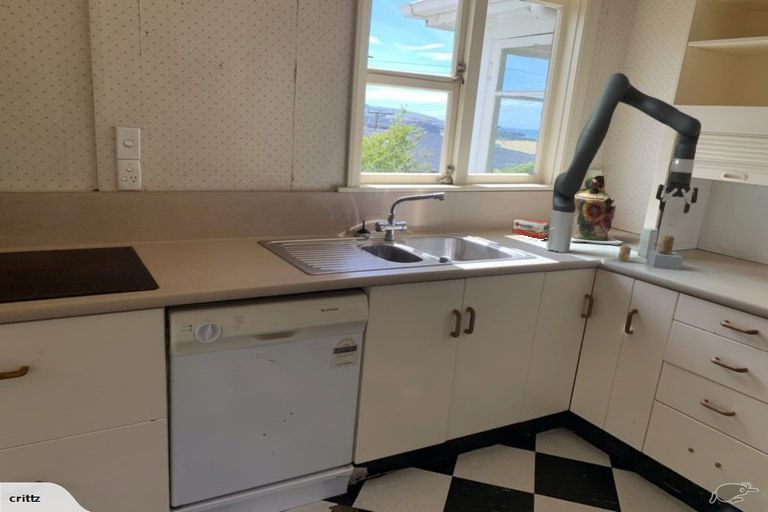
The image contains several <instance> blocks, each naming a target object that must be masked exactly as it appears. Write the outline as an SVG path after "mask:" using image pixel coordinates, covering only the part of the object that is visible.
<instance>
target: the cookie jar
mask: <svg viewBox="0 0 768 512" xmlns="http://www.w3.org/2000/svg"><path fill="white" fill-rule="evenodd" d="M605 176H606V173H605V172H604V173H603V174H599V175H593V176H590V177H587V178H586V180H584V187H585V190H584V191H583V192H581V193H579V194H578V193H576V194H575V205H576V209H575V216H574V223H573V230H572V236H571V243H573V242H578V243H584V242H586V243H590V244H603V245H614V246H620V245H621V244H622V243H623V241H622V240H618V239H616V238H614V237H613V236H612V235H610V234H609V232H610V231H611V229H612V221H613V220H614V218H615V212H616V208H617V207H616V205H613V203H614V202H615V198H613V197H610V195H609V193H608V192H607V191H606V189H605V186H606V185H605V183H606V182H605ZM572 238H573V239H572Z"/></svg>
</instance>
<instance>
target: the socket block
mask: <svg viewBox="0 0 768 512" xmlns="http://www.w3.org/2000/svg"><path fill="white" fill-rule="evenodd" d="M659 252H660V249H658V250H657V249H655V250H650V249H649V251H648V256H647V258H646V262H647V263H648V264H650V265H651V267H653V268H660V269H667V270H668V269H670V270H679V271H681V270H682V269H681V268H682V265H683V264H682V263H683V259H684V258H683V256H682V255H680V254H679V253H677V252H676V251H672V252H671V255H665V254H660V253H659Z"/></svg>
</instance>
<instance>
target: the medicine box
mask: <svg viewBox="0 0 768 512" xmlns="http://www.w3.org/2000/svg"><path fill="white" fill-rule="evenodd" d="M550 224H551V222H548V221H547V222H546V221H541V220H540V221H539V220H532V219H527V218H518V219H514V220H513V224H512V225H513V226H512V231H511V232H512V233H515V234H519V235H524V236H528V237H532V238H537V239H545V238H548V233H549V227H550ZM512 233H511V234H512Z"/></svg>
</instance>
